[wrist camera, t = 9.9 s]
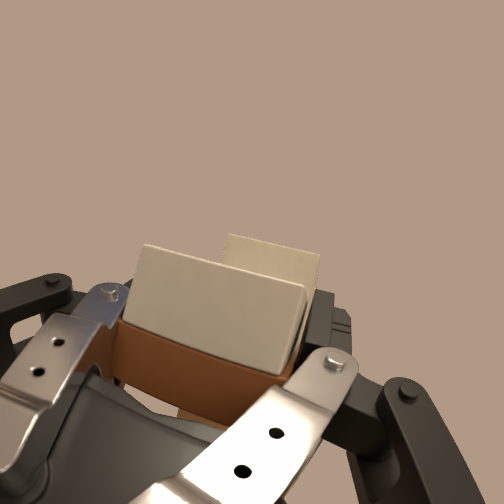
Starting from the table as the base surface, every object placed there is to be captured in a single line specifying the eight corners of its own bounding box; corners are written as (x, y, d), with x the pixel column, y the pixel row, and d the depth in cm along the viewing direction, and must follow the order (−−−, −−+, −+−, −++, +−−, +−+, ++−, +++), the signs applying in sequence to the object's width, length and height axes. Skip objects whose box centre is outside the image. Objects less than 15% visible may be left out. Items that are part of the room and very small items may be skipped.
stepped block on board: (268, 440, 6) (335, 199, 7) (102, 371, 7) (162, 168, 8) (301, 353, 25) (318, 290, 26) (251, 339, 26) (268, 277, 27)
